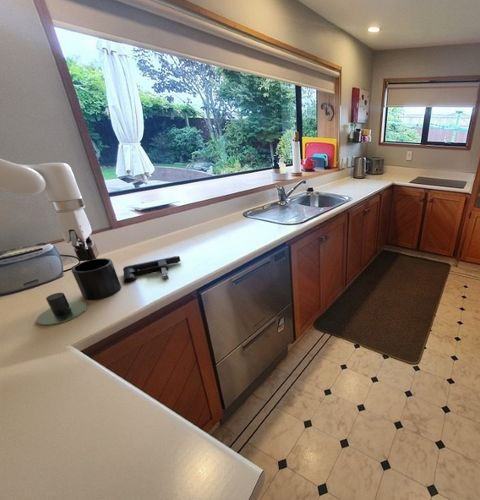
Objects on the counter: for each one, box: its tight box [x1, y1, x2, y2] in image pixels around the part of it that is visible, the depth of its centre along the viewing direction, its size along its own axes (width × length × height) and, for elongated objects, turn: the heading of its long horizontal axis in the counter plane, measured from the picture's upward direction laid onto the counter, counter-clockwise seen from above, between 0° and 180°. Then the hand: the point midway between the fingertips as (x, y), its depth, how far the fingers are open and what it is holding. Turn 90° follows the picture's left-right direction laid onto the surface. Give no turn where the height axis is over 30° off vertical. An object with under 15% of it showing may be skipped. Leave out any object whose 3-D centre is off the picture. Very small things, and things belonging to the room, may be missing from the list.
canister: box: [70, 257, 122, 301], centre depth 98 cm, size 10×10×12 cm
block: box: [73, 241, 100, 262], centre depth 94 cm, size 4×4×4 cm
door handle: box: [122, 255, 181, 284], centre depth 114 cm, size 3×20×16 cm
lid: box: [36, 292, 89, 327], centre depth 87 cm, size 12×12×7 cm
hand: (89, 256), depth 94 cm, fingers closed on block, 4 cm apart
